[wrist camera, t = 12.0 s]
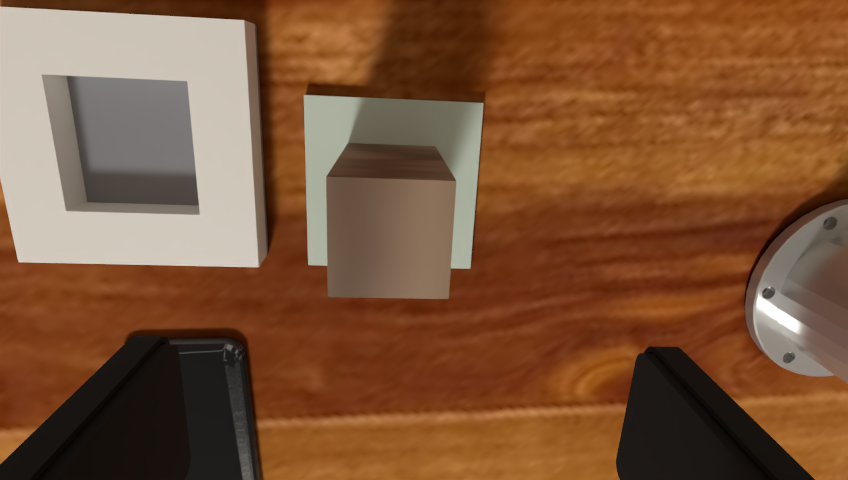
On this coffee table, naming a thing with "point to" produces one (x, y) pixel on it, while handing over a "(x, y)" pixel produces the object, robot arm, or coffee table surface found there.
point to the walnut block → (389, 222)
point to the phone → (218, 409)
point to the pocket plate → (131, 138)
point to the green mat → (395, 125)
